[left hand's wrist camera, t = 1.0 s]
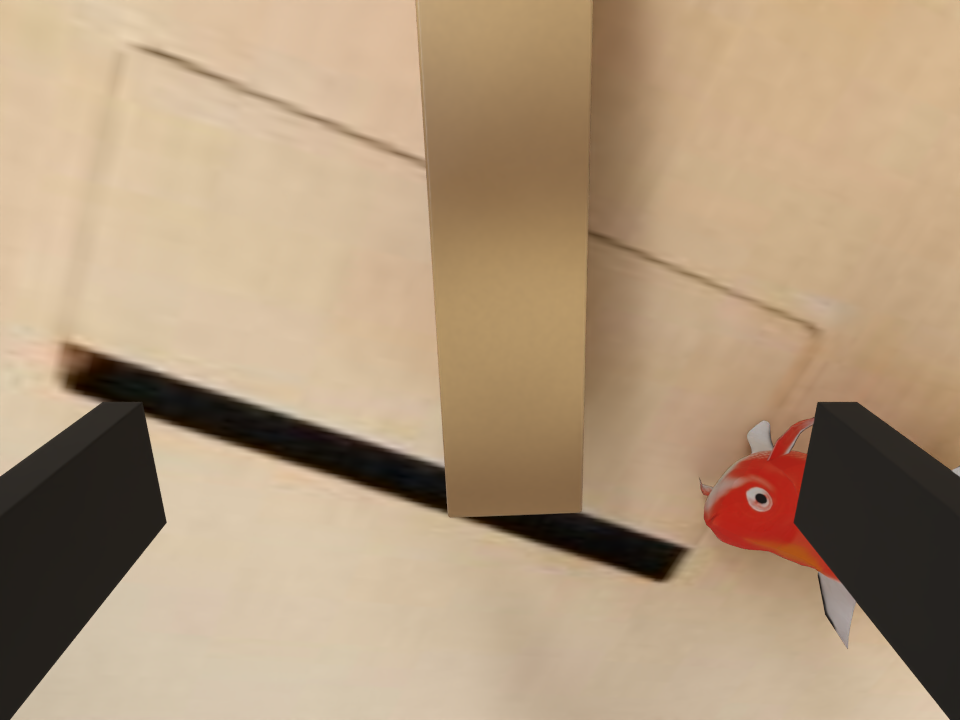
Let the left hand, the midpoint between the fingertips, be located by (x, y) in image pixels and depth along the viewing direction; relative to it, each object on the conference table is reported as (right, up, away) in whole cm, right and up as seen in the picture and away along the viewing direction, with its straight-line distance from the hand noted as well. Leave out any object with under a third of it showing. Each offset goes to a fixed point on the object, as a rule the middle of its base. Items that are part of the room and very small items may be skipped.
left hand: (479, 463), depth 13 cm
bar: (+1, +11, +14) cm, 18 cm away
